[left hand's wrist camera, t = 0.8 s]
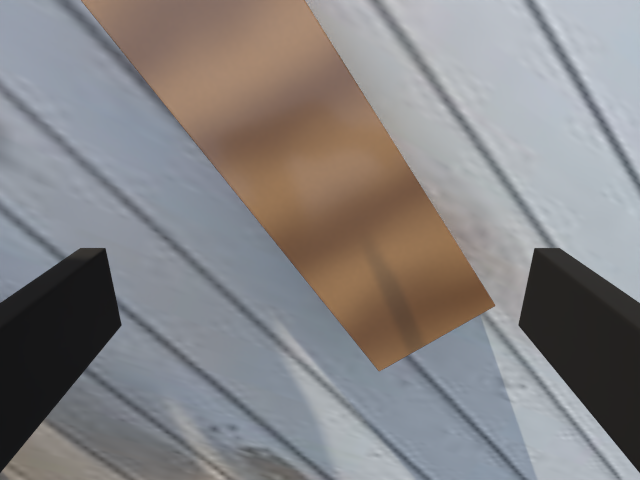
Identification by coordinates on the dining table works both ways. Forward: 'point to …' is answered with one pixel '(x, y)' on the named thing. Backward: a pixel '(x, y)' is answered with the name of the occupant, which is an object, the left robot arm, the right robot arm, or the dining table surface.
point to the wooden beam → (305, 161)
